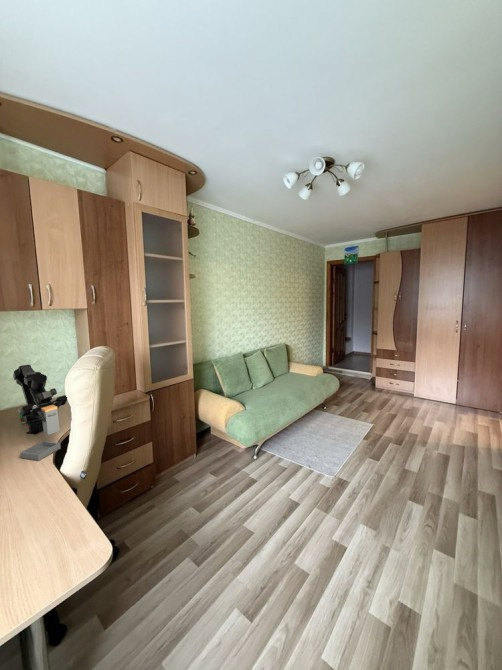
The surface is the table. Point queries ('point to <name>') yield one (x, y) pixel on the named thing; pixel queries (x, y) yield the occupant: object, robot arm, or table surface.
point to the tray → (40, 450)
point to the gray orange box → (50, 419)
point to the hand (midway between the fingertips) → (51, 419)
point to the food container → (21, 417)
